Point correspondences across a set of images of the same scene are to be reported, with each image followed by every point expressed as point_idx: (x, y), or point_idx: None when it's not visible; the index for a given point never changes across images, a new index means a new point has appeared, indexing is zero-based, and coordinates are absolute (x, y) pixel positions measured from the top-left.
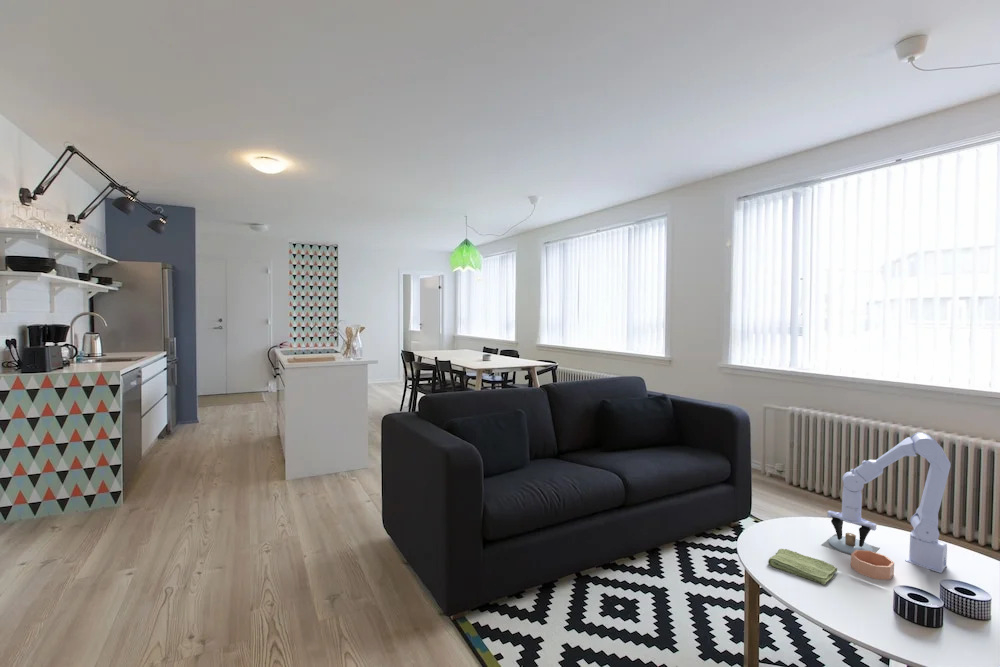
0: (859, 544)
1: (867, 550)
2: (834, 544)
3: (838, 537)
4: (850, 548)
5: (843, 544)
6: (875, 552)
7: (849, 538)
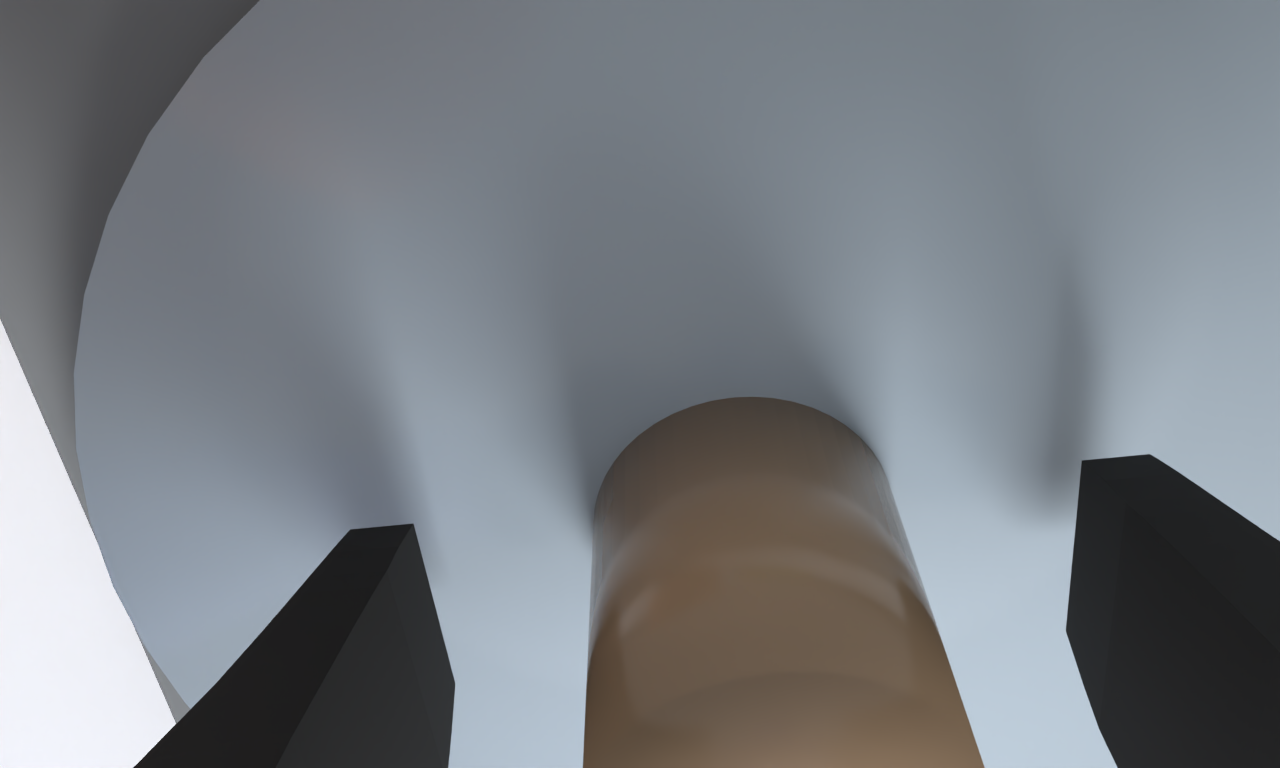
0: (378, 556)
1: (215, 543)
2: (1149, 34)
3: (1164, 488)
4: (591, 222)
5: (893, 335)
6: (157, 678)
7: (745, 592)
